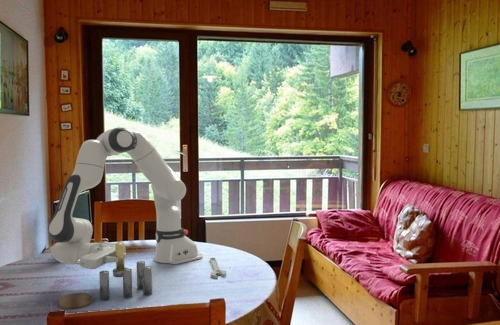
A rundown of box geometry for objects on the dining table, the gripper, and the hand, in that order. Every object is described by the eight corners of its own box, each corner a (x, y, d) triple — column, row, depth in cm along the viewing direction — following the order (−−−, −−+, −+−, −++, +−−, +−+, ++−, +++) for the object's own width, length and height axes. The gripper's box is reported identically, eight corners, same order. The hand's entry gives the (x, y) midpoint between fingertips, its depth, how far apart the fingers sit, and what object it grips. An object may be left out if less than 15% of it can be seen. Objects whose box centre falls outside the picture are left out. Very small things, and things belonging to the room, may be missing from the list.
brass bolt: (126, 271, 169) (125, 240, 167) (129, 275, 164) (128, 244, 163) (111, 273, 166) (110, 242, 165) (114, 278, 161) (113, 246, 160)
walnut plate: (90, 294, 161) (90, 290, 161) (94, 305, 151) (94, 301, 151) (57, 300, 156) (57, 295, 156) (59, 311, 146) (59, 307, 146)
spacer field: (98, 300, 156) (97, 272, 155) (125, 284, 171) (125, 259, 171) (135, 305, 151) (134, 277, 150) (159, 288, 167) (159, 263, 166)
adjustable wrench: (209, 261, 202) (209, 257, 202) (223, 260, 203) (223, 257, 203) (210, 279, 178) (210, 275, 178) (226, 278, 178) (226, 274, 178)
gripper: (72, 254, 158) (104, 257, 154) (107, 239, 178) (136, 242, 173) (72, 271, 159) (105, 275, 154) (107, 255, 178) (137, 257, 174)
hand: (122, 257), depth 164 cm, fingers closed on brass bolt, 3 cm apart
